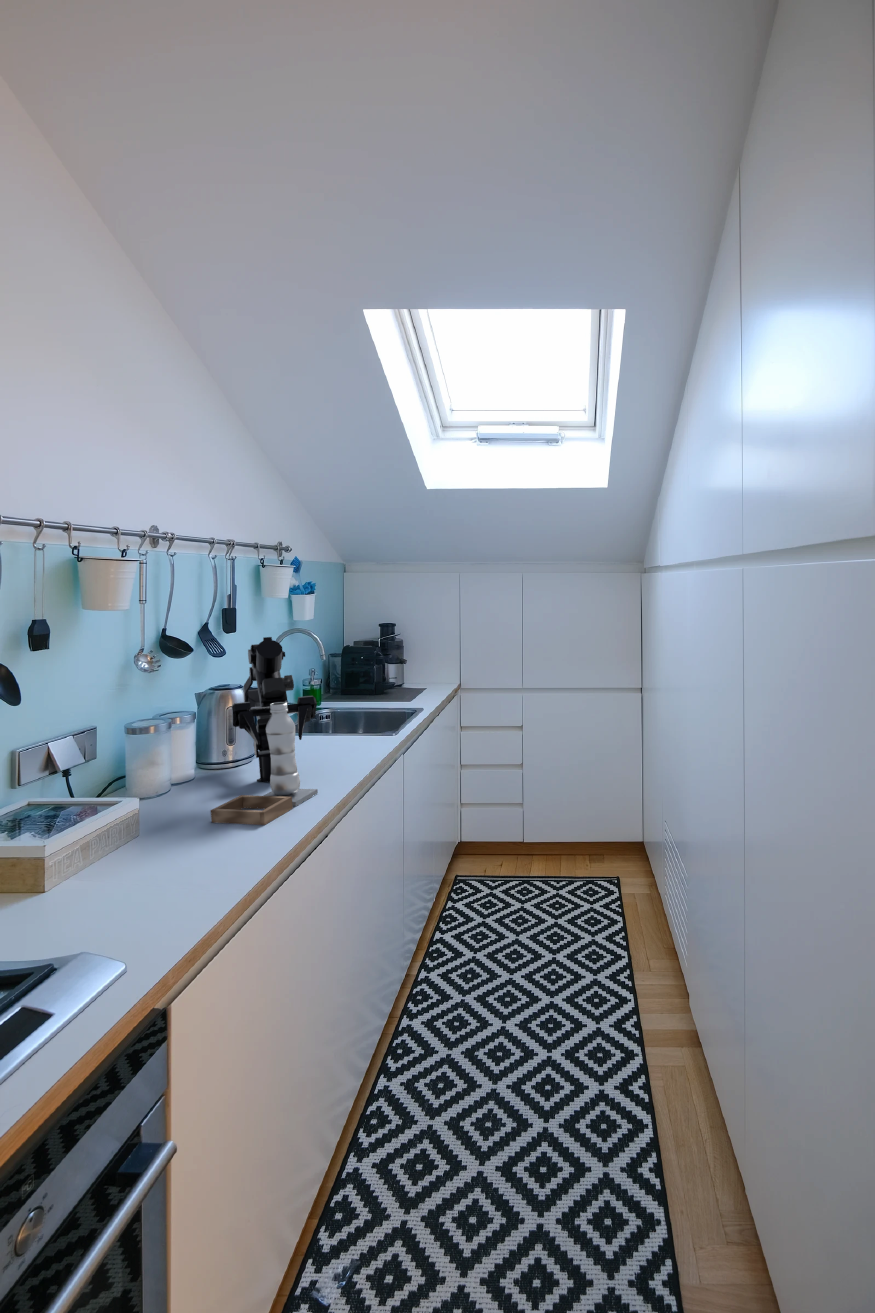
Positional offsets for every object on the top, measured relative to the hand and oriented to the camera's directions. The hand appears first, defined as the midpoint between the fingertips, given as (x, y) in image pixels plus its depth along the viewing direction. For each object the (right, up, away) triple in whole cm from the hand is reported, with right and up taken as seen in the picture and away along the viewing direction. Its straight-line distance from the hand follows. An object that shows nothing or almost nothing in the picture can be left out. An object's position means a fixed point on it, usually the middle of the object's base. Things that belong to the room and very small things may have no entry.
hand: (279, 741), depth 167 cm
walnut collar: (-2, -13, -14) cm, 20 cm away
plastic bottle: (+2, -11, -3) cm, 12 cm away
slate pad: (+2, -12, -3) cm, 13 cm away
